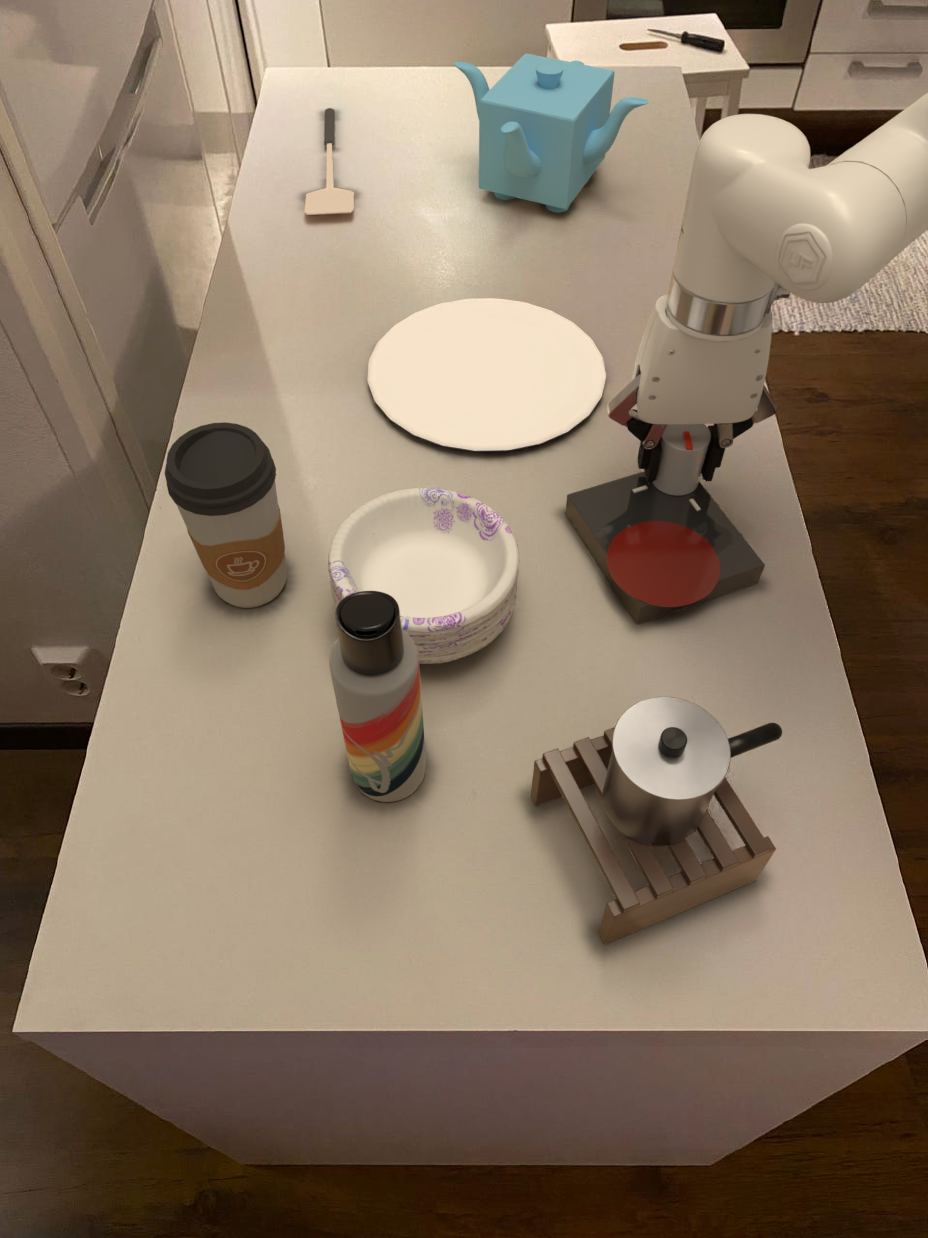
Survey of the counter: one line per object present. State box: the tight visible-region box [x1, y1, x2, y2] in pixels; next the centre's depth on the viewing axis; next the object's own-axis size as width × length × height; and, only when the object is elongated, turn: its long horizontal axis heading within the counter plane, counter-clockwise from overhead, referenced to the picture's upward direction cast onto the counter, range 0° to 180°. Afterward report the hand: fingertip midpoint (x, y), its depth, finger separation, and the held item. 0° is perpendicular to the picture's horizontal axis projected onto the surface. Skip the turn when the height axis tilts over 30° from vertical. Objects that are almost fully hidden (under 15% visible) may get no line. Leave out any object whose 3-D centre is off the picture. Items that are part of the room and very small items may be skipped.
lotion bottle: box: [328, 591, 427, 803], centre depth 64 cm, size 6×6×20 cm
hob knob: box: [653, 424, 711, 496], centre depth 85 cm, size 4×4×6 cm
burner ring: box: [607, 521, 720, 607], centre depth 81 cm, size 10×10×1 cm
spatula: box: [303, 107, 355, 216], centre depth 126 cm, size 6×29×2 cm, turn 5°
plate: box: [366, 297, 607, 453], centre depth 99 cm, size 25×25×1 cm
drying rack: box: [530, 726, 777, 946], centre depth 66 cm, size 12×12×6 cm
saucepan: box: [602, 696, 783, 847], centre depth 61 cm, size 7×13×8 cm, turn 112°
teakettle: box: [453, 52, 650, 213], centre depth 117 cm, size 19×19×15 cm
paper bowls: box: [327, 487, 520, 665], centre depth 78 cm, size 15×15×8 cm
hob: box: [564, 470, 766, 626], centre depth 85 cm, size 14×16×3 cm
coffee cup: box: [164, 421, 288, 609], centre depth 77 cm, size 8×8×15 cm
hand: (676, 469), depth 86 cm, fingers closed on hob knob, 4 cm apart
